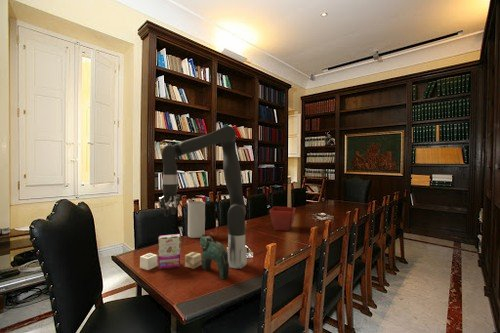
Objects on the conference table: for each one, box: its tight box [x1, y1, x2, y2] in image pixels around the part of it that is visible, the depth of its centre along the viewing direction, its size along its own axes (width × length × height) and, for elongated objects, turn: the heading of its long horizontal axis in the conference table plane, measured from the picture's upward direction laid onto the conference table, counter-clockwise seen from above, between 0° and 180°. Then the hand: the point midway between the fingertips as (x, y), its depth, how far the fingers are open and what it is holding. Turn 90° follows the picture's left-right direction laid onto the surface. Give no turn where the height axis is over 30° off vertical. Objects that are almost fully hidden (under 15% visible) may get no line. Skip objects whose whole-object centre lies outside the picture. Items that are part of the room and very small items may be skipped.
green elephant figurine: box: [199, 232, 230, 280], centre depth 125 cm, size 20×6×20 cm, turn 45°
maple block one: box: [184, 251, 202, 269], centre depth 133 cm, size 6×6×6 cm
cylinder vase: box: [187, 200, 206, 239], centre depth 186 cm, size 12×12×25 cm
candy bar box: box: [157, 233, 182, 270], centre depth 132 cm, size 11×5×16 cm, turn 105°
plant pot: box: [269, 206, 296, 232], centre depth 208 cm, size 19×19×17 cm
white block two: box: [139, 252, 158, 271], centre depth 131 cm, size 6×6×6 cm
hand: (169, 215), depth 131 cm, fingers open, 4 cm apart
